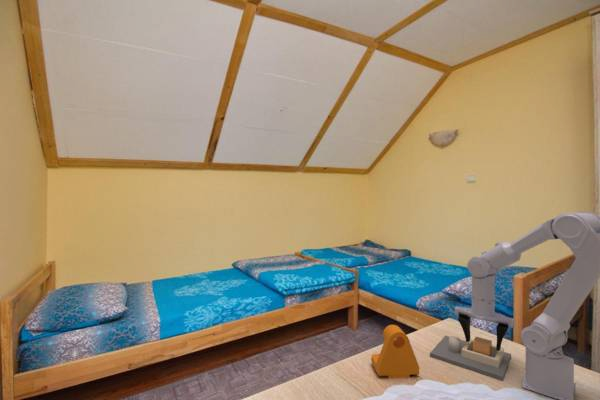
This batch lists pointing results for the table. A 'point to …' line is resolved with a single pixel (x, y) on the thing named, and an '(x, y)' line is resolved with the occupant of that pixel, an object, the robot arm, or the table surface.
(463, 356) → the board
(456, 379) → the table surface
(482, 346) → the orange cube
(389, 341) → the bracket
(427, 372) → the table surface
